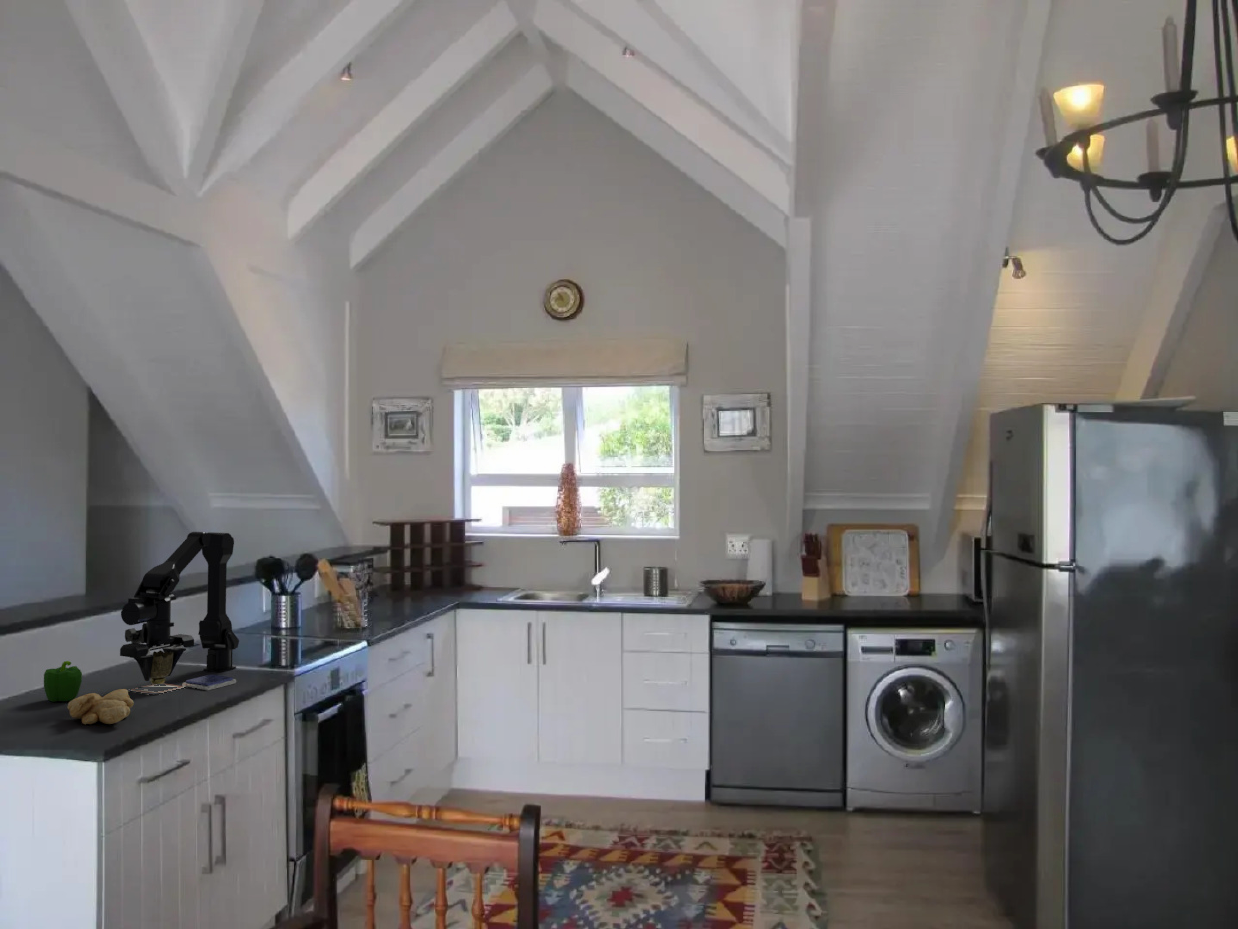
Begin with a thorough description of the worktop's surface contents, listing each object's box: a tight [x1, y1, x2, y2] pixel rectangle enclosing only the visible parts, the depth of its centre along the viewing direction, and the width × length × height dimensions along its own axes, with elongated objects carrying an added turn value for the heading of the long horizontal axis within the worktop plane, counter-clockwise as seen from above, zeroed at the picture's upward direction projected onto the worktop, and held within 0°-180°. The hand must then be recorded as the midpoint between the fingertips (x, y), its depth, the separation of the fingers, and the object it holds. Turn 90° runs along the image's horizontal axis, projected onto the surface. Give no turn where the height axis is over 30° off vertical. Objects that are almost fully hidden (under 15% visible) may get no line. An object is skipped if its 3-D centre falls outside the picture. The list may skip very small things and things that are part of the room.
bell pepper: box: [43, 660, 83, 703], centre depth 238 cm, size 8×8×10 cm
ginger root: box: [66, 688, 134, 725], centre depth 221 cm, size 16×16×8 cm
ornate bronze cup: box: [149, 649, 174, 685], centre depth 251 cm, size 8×7×8 cm
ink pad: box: [182, 673, 237, 691], centre depth 257 cm, size 10×9×2 cm
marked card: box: [131, 683, 185, 694], centre depth 251 cm, size 10×10×1 cm
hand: (157, 678), depth 251 cm, fingers closed on ornate bronze cup, 6 cm apart
